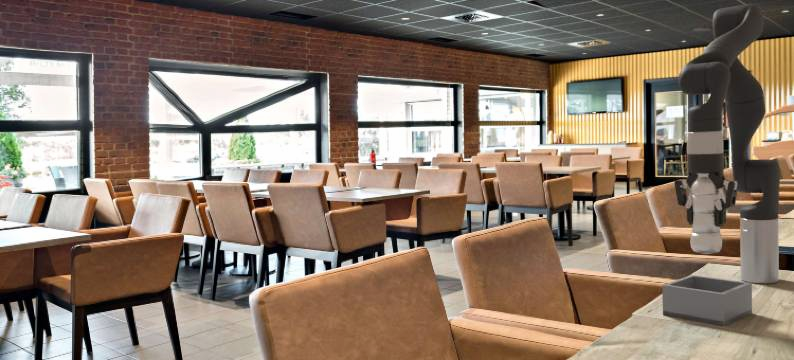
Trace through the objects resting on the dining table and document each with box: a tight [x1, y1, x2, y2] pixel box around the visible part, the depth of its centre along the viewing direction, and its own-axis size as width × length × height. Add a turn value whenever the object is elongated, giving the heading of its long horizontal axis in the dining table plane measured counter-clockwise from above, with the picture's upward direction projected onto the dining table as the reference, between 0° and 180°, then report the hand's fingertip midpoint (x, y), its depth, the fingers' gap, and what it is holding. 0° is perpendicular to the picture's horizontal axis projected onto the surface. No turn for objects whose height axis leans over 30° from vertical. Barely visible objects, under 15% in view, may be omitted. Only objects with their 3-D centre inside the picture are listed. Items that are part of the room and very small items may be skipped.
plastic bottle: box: [689, 173, 723, 255], centre depth 153 cm, size 6×7×20 cm
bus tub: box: [661, 274, 753, 327], centre depth 154 cm, size 14×14×7 cm
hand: (706, 225), depth 153 cm, fingers closed on plastic bottle, 5 cm apart
